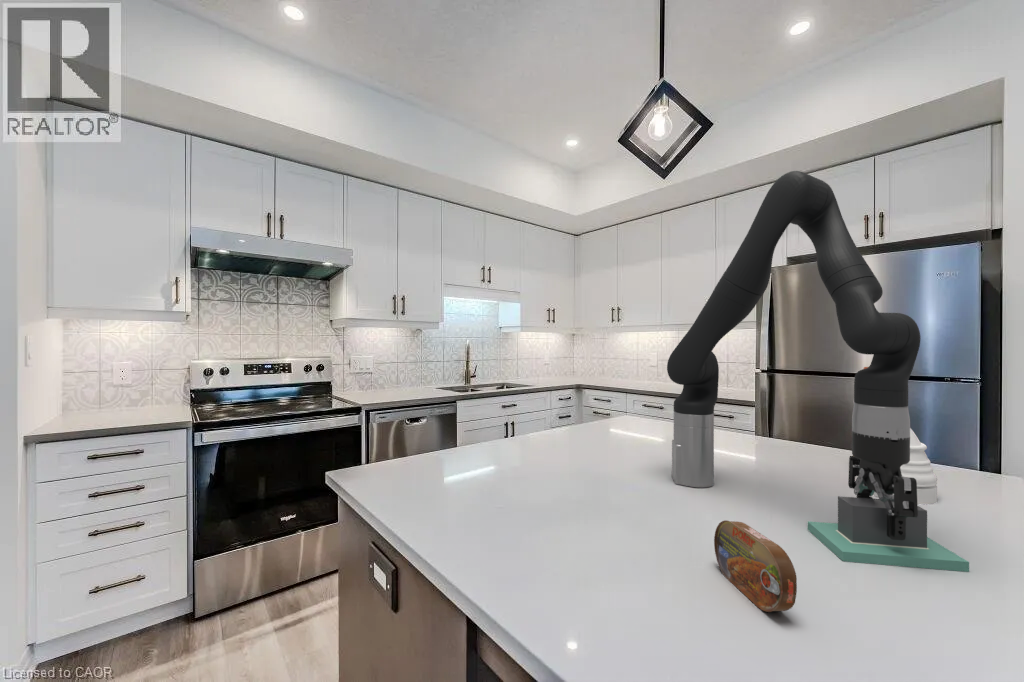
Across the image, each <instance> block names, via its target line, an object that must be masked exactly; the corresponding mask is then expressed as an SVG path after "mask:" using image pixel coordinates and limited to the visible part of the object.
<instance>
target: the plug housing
mask: <svg viewBox="0 0 1024 682" xmlns="http://www.w3.org/2000/svg"><path fill="white" fill-rule="evenodd" d="M905 503H906V505H907V508H908V509H909V501H905ZM892 505H893V507H894V502H892ZM917 506H918V516H917V517H916V518H915V517H907V518H906V537H905V540H892V539H890V538H889V537H888V536H887V514H888V513H887V510H886V507H885V504H884V502H882V501H880V500H879V498H873V497H872V498H857V496H856V497H855V496H854V497H853V496H841V495H840V496H837V523H838V531H839V532H840V533H842V534H843V535H844V536H845V537H847V538H848V539H849V540H850V541H852V542H855V543H868V544H881V545H894V546H907V547H920V548H927V537H928V510H927V509H924V508H923V507H921V506H919V505H917Z"/></svg>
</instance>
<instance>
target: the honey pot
mask: <svg viewBox="0 0 1024 682" xmlns="http://www.w3.org/2000/svg"><path fill="white" fill-rule="evenodd" d="M927 449H928V447H927V445H926V444H925V443H923V442H921V441H920V440H919V438H918V436H917V435H916V433H915V432H914V430H913V429H912V428H911V427H910V462H909V463H907V464H903V465H902V466H901V467H900V469H901V474H902V476H903V477H909V478H915V479H916V482H917V505H919V504H921V505H922V506H924V505H925V504H926V506H927V505H928V504H929V505H935V504H937V502H938V486H937V484H938V482H937V481H938V477H937V475H936V474H935V472H934V468H933V466H932V465H931V460H930V459H929V458H928V455H927V454H926V452H925V451H926V450H927ZM873 495H874V497H876V496H877V497H876V498H878V495H877V493H876V492H874V494H873ZM873 495H872V496H873ZM893 495H894V494H893ZM934 503H935V504H934ZM921 505H920V506H921Z"/></svg>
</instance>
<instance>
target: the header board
mask: <svg viewBox="0 0 1024 682" xmlns="http://www.w3.org/2000/svg"><path fill="white" fill-rule="evenodd" d="M807 530H808V532H810V533H811V534H812V535H813V536H814V537H816V539H817V540H818V541H820V543H822V545H824V546H825V547H826V548H828V550H830V551H831V552H832V553H833V554H834V555H836V557H837V558H839V559H840V561H842V562H847V563H848V562H850V563H859V564H860V563H861V564H873V565H882V566H883V565H885V566H894V567H895V566H899V567H905V568H906V567H907V568H919V569H932V570H943V571H955V572H966V573H970V561H968V560H967V559H965V558H963V557H961V556H960V555H958V554H957V553H955V552H954V551H952V550H950V549H949V548H946V547H945V546H944V545H941V544H940V543H938V542H936V541H934V539H931V538H930V537H929V536H927V548H920V547H907V546H894V545H881V544H868V543H855V542H852V541H850V540H849V539H848V538H847V537H845V536H844V535H843V534H842V533H840V532H839V531H838V522H835V523H834V522H823V521H822V522H820V521H807Z"/></svg>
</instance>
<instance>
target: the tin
mask: <svg viewBox="0 0 1024 682" xmlns="http://www.w3.org/2000/svg"><path fill="white" fill-rule="evenodd" d="M713 537H714V538H713V541H714V542H713V544H714V552H715V553H714V554H715V558H716V561H717V565H718V566H719V569H720V571H721V573H722V575H723V576H724V577H725V578H726V580H727V581H728V582H730V584H732V585H733V586H734V587H735V588H736V589H738V590H739V591H740V592H741V593H742V594H743V595H744V596H745V597H746V598H747V599H748V600H749V601H751V602H752V603H753V604H754V605H755V606H756V607H757V608H758V609H760V610H761V611H763V612H765V613H767V612H768V613H772V612H785V611H789V610H790V609H792V608H793V607H794V606H795V604H796V598H797V592H798V591H797V589H798V586H797V585H798V584H797V583H798V582H797V573H796V570H795V567H794V564H793V561H792V560H791V558H790V557H789V555H788V554H787V552H786V551H785V550H784V549H783V547H781V546H780V545H779V544H778V543H776V542H774V541H773V540H771V539H769V538H768V537H767V536H765V535H763V534H762V533H761V532H758V531H757V530H756V529H755V528H753V527H751V526H750V525H748V524H747V523H745V522H742V521H735V520H734V521H732V520H722V521H720V522H719V523H718V525H717V526H716V528H715V532H714V536H713Z"/></svg>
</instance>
